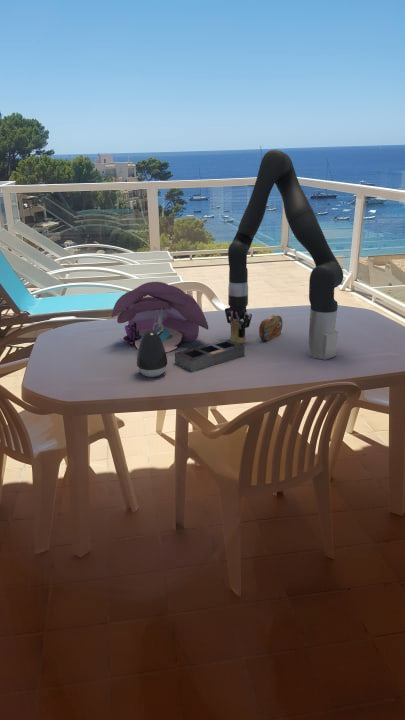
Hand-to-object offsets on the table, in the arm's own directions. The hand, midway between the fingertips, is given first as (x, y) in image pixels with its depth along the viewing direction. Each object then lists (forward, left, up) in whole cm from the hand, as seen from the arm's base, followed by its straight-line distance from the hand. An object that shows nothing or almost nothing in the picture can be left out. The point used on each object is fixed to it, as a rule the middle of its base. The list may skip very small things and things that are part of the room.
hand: (237, 335), depth 194 cm
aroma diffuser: (-6, +43, -3) cm, 44 cm away
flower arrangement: (+17, +25, -3) cm, 31 cm away
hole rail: (-8, +20, -3) cm, 22 cm away
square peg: (0, 0, -3) cm, 3 cm away
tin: (-4, -14, -3) cm, 15 cm away
